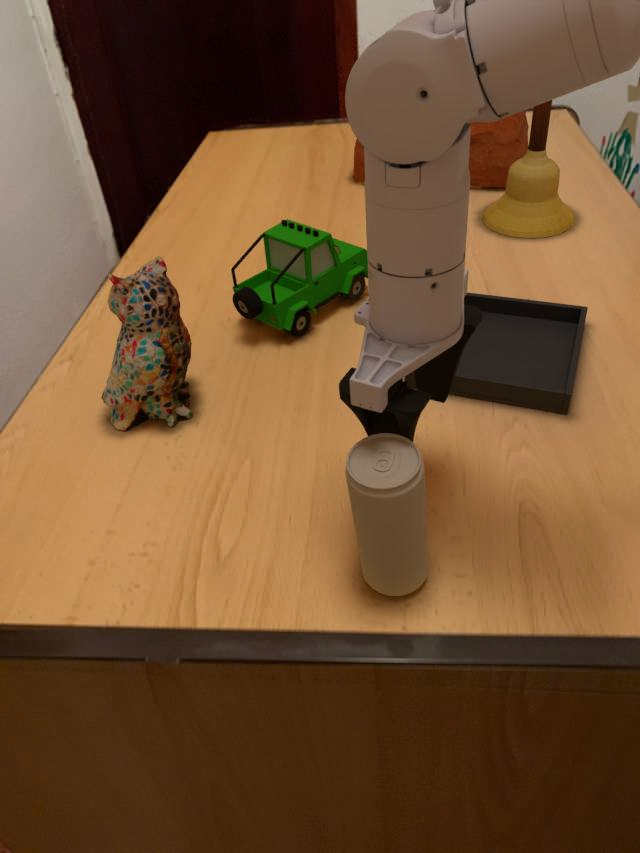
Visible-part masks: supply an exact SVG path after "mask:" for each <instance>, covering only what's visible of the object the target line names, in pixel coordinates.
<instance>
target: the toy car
mask: <svg viewBox="0 0 640 853" xmlns="http://www.w3.org/2000/svg"><path fill="white" fill-rule="evenodd" d="M280 221H281V222H279V223H278V224H275V225H274V226H272V227H270V228H268V229H267V230H265V231H263V232H262V234H259V236H258V237H257V238H256V240H254V242H252V244H251V245H250V247H249V248H248V249H247V250H246V251H245V252H244V253H243V255H242V256H241V257H240V258H239V259H238V260H237V262H235V263H234V265H233V266H232V267H231V269H230V272H231V278H232V282H233V286H232V290H233V294H232V304H233V306H234V308H235V310H236V311H237V312H238V314H239V315H240V316H241V317H242V318H244V319H245V320H248V321H249V320H250V321H251V320H253V319H254V320H257V321H261V322H262V323H264V324H267V325H269V326H270V327H273V328H275V329H277V330H279V331H283V332H284V333H285V334H287V335H289V336H292V337H293V338H300V337H303V336H304V335H305V334H306V333H307V332H308V331H309V329H310V327H311V323H312V315H311V314H314V315H317V314H318V312H317V310H319V309H321V308H322V307H324V306H325V305H327V304H329V303H331V302H332V301H333V300H335V299H337V298H338V297H341V298H342V299H344V300H347V301H349V302H351V303H352V302H353V303H354V302H357V301H358V300H359V299H360V298H362V296H363V295H364V293H365V289H366V285H367V284H366V279H368V258H367V248H365V247H361V246H358V245H355V244H353V243H349V242H346V241H345V240H344V241H343V240H340V239H338V238H334V237H333V235H332V233H331V232H328V231H325V230H321V229H319V228H316V227H314V226H313V227H312V226H310V225H307V224H303V223H301V222H297V221H294V220H292V219H288V218H286V219H281V220H280ZM262 239H263V246H264V247H263V248H264V256H265V263H266V269H263V270H262V271H260V272H258V273H256V274H255V275H253V276H250V277H248V278H247V279H244V280H243V281H241V282H239V283H238V281H237V276H236V271H235V270H236V269H237V268H238V266H240V264H241V263H242V262H243V261H244V260H245V259H246V257H247V256H248V255H249V254H250V253H251V252H252V251H253V249H255V247H257V245H259V243H260V242H261V240H262Z"/></svg>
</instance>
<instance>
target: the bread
mask: <svg viewBox="0 0 640 853" xmlns="http://www.w3.org/2000/svg"><path fill="white" fill-rule="evenodd" d="M526 114H527V109H526V110H524V111H521V112H519V113H516V114H513V115H511V116H508V117H505V118H503V119H500V120H498V121H495V122H471V123H470V124H471V135H470V150H469V166H468V168H469V172H470V187H488V188H506V182H507V177H508V172H509V169H510V167H511V165H512V164H513V163H514V162H516V161H517V160H518V159H521V158H523V157H524V156H525V155H526V153H527V151H528V147H529V127H530V126H529V123H528V119H527V118H528V117H527V115H526ZM352 172H353V173H352V177H353V178H354V179H355V181H358V182H365V159H364V146H363V145H362V144H361V143H360V142H359V140H358V139H357V138H356V139H355V144H354V148H353V171H352Z"/></svg>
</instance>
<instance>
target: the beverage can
mask: <svg viewBox="0 0 640 853" xmlns="http://www.w3.org/2000/svg"><path fill="white" fill-rule="evenodd" d="M344 470H345V471H344V473H345V474H344V475H345V479H346V484H347V485H346V486H347V489H348V497H349V502H350V508H351V514H352V520H353V525H354V532H355V536H356V542H357V548H358V554H359V555H358V556H359V559H360V565H361V570H362V577H363V578H364V580H365V582H366V584H368V586H369V587H370V588H371V589H373V590H374V591H376V592H377V593H379V594H382V595H385V596H389V597H400V596H406V595H409V594H411V593H413V592H415V591H416V590H418V589H419V588H421V587H422V586H423V584H424V583H425V581H426V579H427V577H428V575H429V555H428V553H429V552H428V538H427V537H428V535H427V533H428V532H427V531H428V530H427V504H426V503H427V502H426V473H425V464H424V460H423V457H422V454H421V451H420V449H419V447H418V445H416V443H415V442H414V441H413V442H412V441H411V440H409V439H408V438H406V437H403V436H401V435H397V434H393V433H380V434H374V435H371V436H368V435H367V436H366V437H363V438H362V439H360V440H359V441H357V442H356V443H355V444H353V446H352V447H351V448H350V449H349V451H348V453H347V455H346V460H345V469H344Z"/></svg>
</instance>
